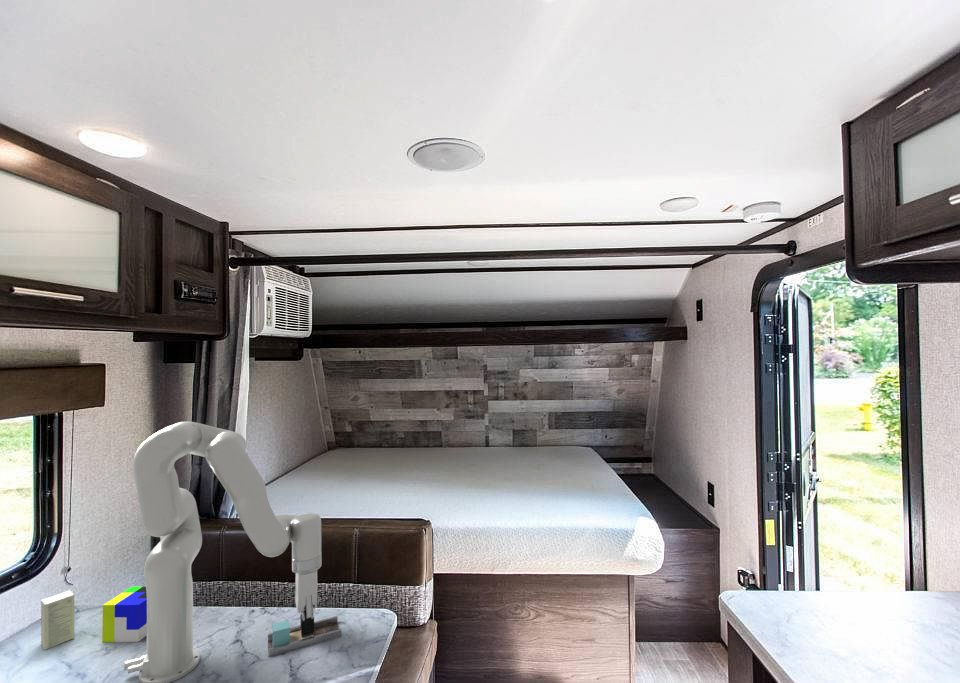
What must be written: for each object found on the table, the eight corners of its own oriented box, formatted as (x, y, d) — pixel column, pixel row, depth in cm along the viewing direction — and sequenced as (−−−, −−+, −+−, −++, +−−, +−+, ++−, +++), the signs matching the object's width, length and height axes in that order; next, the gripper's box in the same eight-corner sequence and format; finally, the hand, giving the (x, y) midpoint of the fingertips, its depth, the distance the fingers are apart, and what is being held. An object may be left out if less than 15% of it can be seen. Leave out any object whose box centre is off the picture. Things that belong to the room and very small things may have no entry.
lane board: (268, 660, 114) (268, 650, 114) (267, 642, 121) (267, 633, 121) (341, 639, 122) (341, 630, 122) (337, 624, 129) (337, 615, 129)
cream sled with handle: (273, 652, 116) (273, 629, 116) (272, 640, 121) (272, 618, 121) (314, 641, 120) (314, 619, 120) (312, 630, 125) (312, 608, 125)
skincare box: (70, 633, 128) (71, 589, 128) (74, 638, 125) (75, 593, 125) (39, 644, 122) (40, 599, 123) (43, 650, 120) (44, 604, 120)
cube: (273, 647, 117) (273, 631, 117) (272, 639, 120) (272, 623, 120) (289, 643, 118) (289, 627, 118) (288, 634, 122) (288, 619, 122)
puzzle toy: (138, 642, 123) (138, 604, 123) (102, 642, 123) (102, 605, 124) (164, 620, 133) (164, 586, 133) (131, 621, 133) (131, 586, 133)
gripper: (290, 553, 128) (290, 619, 128) (294, 577, 114) (294, 652, 113) (318, 548, 132) (318, 612, 131) (325, 570, 117) (325, 643, 117)
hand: (307, 630), depth 122 cm, fingers closed on cream sled with handle, 2 cm apart
